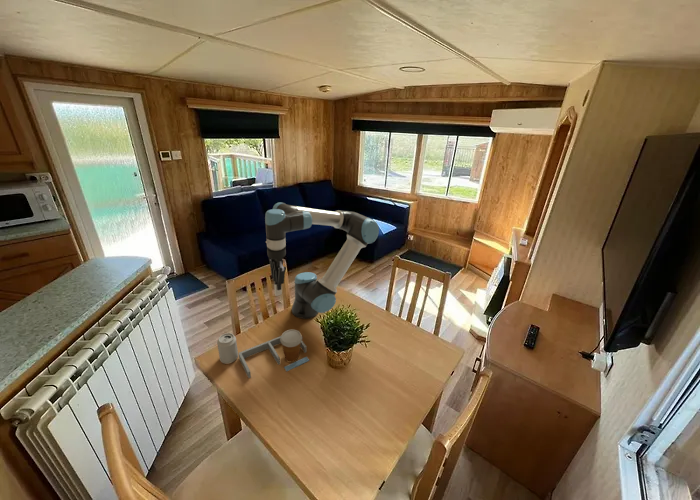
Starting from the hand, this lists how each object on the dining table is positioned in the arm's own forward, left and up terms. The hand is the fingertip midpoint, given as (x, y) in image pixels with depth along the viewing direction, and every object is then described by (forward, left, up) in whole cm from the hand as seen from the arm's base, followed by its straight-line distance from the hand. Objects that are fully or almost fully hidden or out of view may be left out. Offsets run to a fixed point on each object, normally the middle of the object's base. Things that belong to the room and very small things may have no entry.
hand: (278, 294), depth 125 cm
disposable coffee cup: (0, +13, -27) cm, 29 cm away
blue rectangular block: (0, +18, -26) cm, 32 cm away
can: (+24, -1, -27) cm, 36 cm away
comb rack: (+6, +8, -26) cm, 28 cm away
